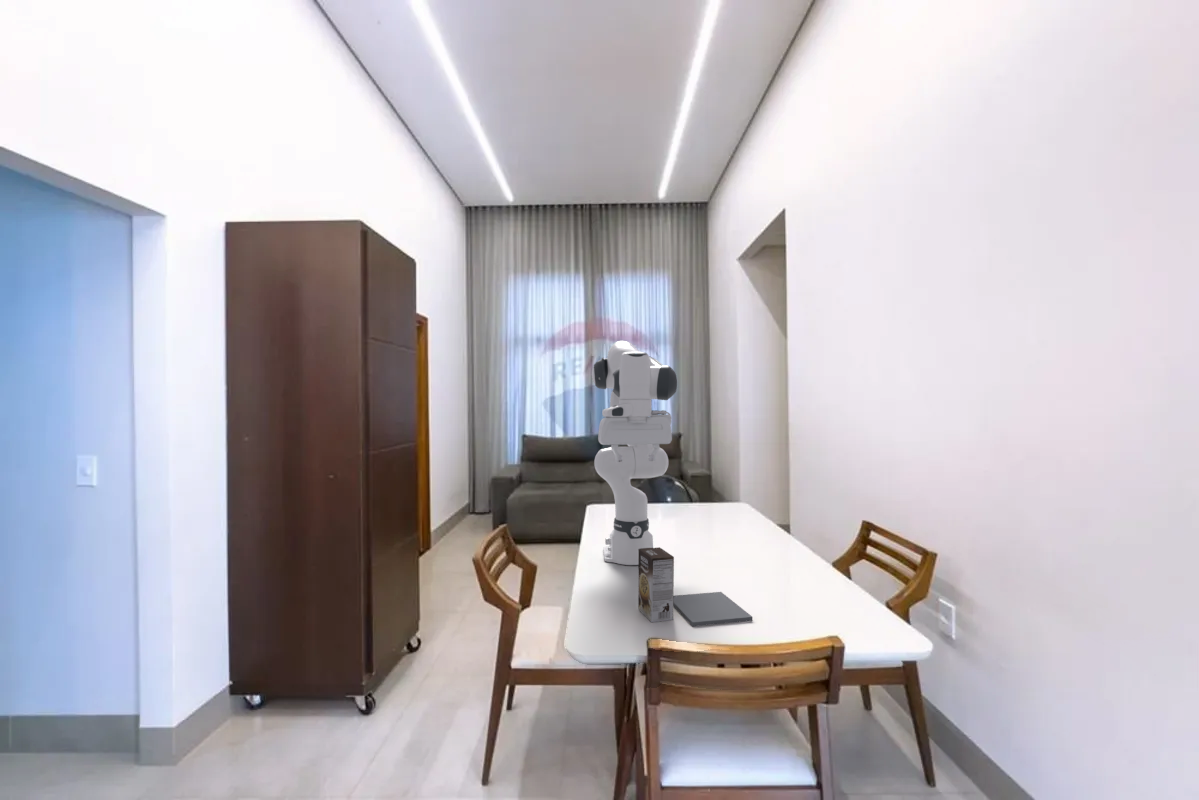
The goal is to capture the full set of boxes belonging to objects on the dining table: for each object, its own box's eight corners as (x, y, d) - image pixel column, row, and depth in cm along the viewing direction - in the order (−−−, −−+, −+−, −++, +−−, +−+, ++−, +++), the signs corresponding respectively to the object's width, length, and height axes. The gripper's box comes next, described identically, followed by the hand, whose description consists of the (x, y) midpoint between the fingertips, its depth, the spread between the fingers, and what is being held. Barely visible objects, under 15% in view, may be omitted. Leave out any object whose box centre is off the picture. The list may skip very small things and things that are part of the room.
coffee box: (637, 609, 143) (637, 548, 143) (659, 606, 145) (659, 546, 145) (650, 623, 135) (650, 557, 134) (674, 619, 136) (674, 555, 136)
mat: (667, 599, 150) (667, 596, 150) (721, 595, 154) (721, 591, 154) (692, 626, 133) (692, 622, 132) (752, 620, 136) (752, 616, 136)
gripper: (667, 410, 153) (667, 459, 153) (596, 410, 149) (596, 461, 148) (675, 410, 147) (675, 461, 147) (602, 410, 143) (602, 463, 142)
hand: (635, 461), depth 148 cm, fingers open, 8 cm apart
